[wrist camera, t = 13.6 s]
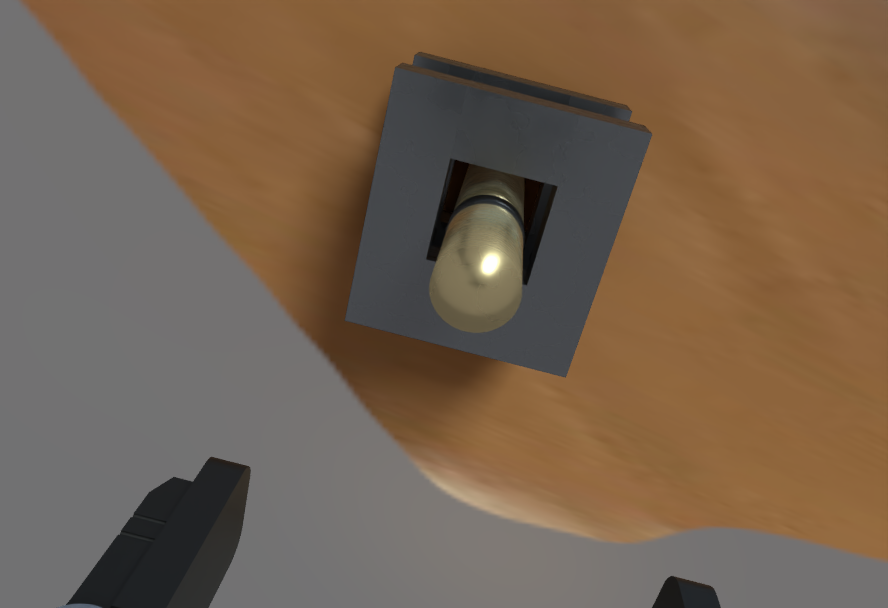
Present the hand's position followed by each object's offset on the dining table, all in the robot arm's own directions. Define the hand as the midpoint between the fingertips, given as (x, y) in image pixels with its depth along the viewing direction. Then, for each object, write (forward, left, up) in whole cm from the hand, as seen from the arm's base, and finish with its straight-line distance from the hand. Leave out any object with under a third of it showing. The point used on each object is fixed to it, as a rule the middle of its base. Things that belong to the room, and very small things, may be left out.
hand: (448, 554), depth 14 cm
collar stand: (0, 0, -30) cm, 30 cm away
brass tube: (0, 0, -30) cm, 30 cm away
